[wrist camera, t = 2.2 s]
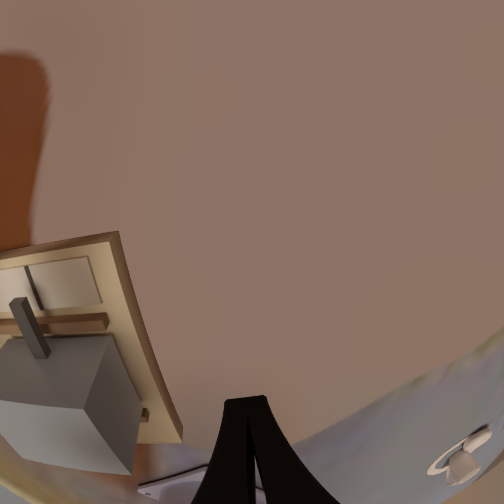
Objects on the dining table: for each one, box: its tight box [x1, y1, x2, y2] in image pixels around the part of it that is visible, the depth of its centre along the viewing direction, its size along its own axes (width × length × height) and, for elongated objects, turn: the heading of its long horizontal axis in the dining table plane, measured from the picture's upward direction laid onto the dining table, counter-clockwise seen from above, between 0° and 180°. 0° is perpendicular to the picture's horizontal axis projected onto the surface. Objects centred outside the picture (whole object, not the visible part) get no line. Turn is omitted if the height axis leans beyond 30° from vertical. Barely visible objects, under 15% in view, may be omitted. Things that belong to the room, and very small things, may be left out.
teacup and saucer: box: [427, 429, 492, 486], centre depth 23 cm, size 9×8×4 cm
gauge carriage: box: [0, 297, 143, 475], centre depth 10 cm, size 9×7×4 cm
